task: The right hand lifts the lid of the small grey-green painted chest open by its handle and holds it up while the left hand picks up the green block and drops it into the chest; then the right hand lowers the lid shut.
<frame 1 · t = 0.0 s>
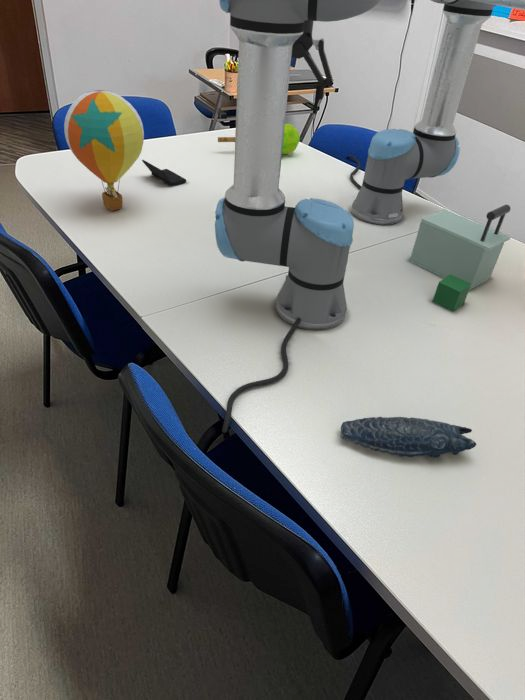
left hand: (288, 109, 135), 28 cm above the table, tool pointing down, fingers open, 13 cm apart
chest: (449, 269, 132), on the table
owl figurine: (402, 444, 84), on the table
toy: (113, 208, 145), on the table
block: (448, 302, 120), on the table
pill bottle: (241, 243, 135), on the table
decorative tree: (258, 154, 190), on the table
lid: (469, 214, 122), point 15 cm above the table, hinge at -0.1°
handheld gaming console: (164, 180, 164), on the table
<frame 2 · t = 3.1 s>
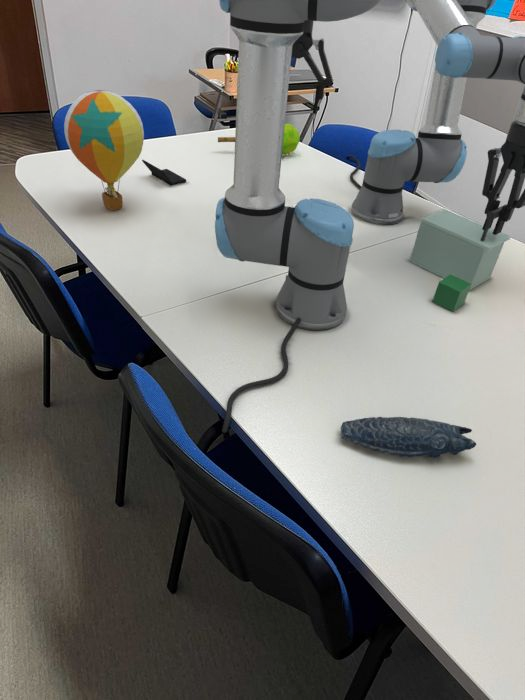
left hand: (288, 109, 135), 28 cm above the table, tool pointing down, fingers open, 13 cm apart
right hand: (491, 230, 120), 14 cm above the table, tool pointing down, fingers closed on lid, 2 cm apart
lid: (469, 214, 122), point 15 cm above the table, hinge at -0.1°, touching right hand
everything else where it was.
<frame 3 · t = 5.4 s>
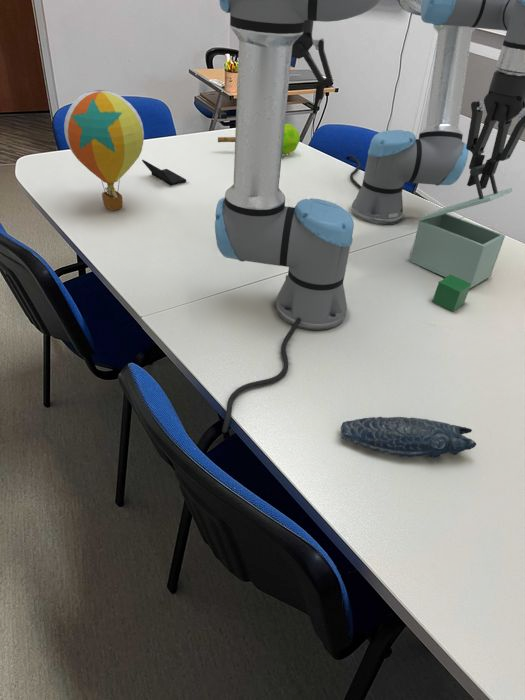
left hand: (288, 109, 135), 28 cm above the table, tool pointing down, fingers open, 13 cm apart
right hand: (476, 186, 119), 22 cm above the table, tool pointing down, fingers closed on lid, 2 cm apart
lid: (460, 190, 122), point 20 cm above the table, hinge at 32.9°, touching right hand
everything else where it was.
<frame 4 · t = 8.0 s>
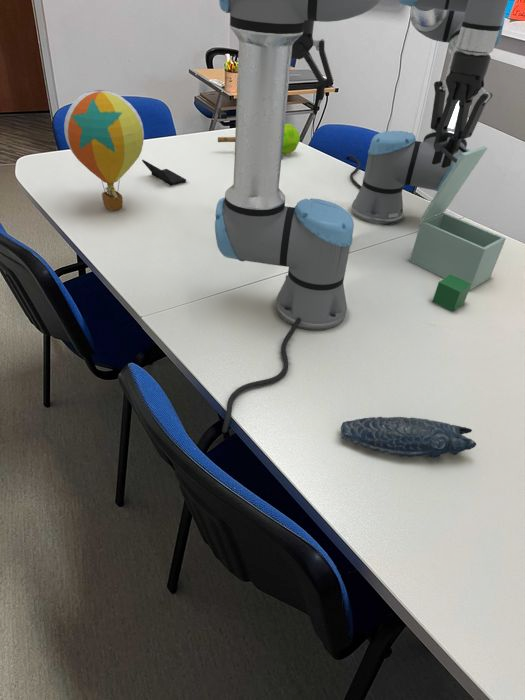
left hand: (289, 110, 135), 28 cm above the table, tool pointing down, fingers open, 13 cm apart
right hand: (441, 164, 123), 24 cm above the table, tool pointing down, fingers closed on lid, 2 cm apart
lid: (441, 175, 124), point 21 cm above the table, hinge at 72.6°, touching right hand
everything else where it was.
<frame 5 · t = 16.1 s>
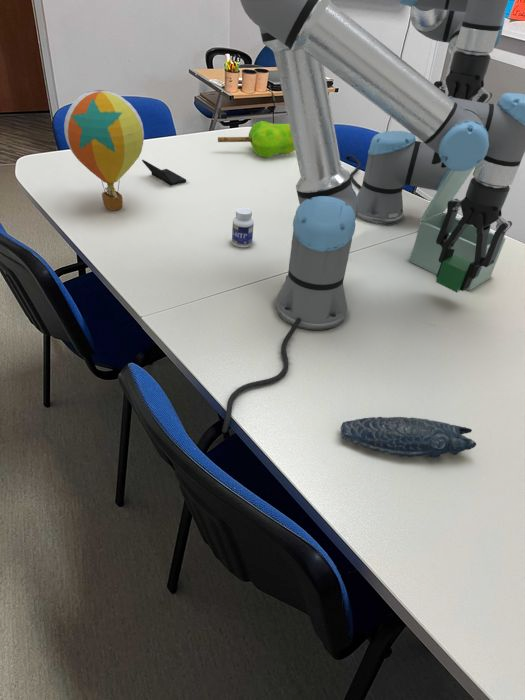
left hand: (452, 282, 116), 5 cm above the table, tool pointing down, fingers closed on block, 5 cm apart
right hand: (440, 164, 123), 24 cm above the table, tool pointing down, fingers closed on lid, 2 cm apart
block: (451, 283, 116), point 5 cm above the table, touching left hand
lid: (441, 175, 124), point 21 cm above the table, hinge at 72.7°, touching right hand
everything else where it was.
when the left hand's fingers open (18 cm above the table, at t = 18.8 s): block drops 16 cm, resting on chest.
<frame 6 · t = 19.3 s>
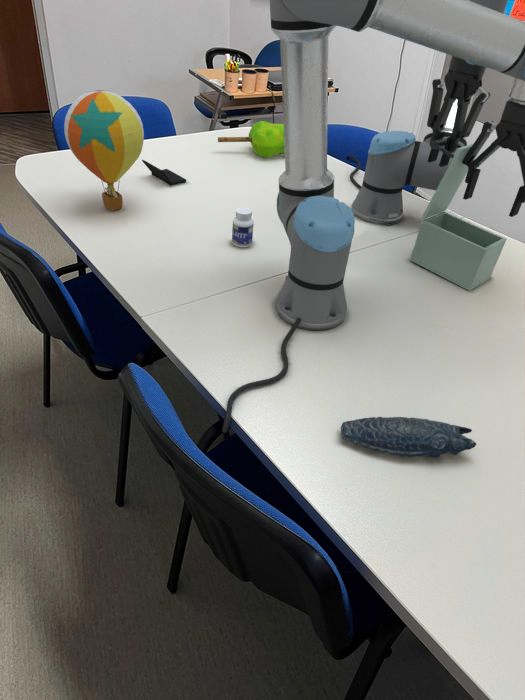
left hand: (489, 206, 118), 19 cm above the table, tool pointing down, fingers open, 11 cm apart
right hand: (437, 163, 123), 24 cm above the table, tool pointing down, fingers open, 2 cm apart
chest: (449, 269, 132), on the table, touching block
block: (462, 272, 129), point 1 cm above the table, touching chest
lid: (440, 173, 124), point 22 cm above the table, hinge at 78.9°, touching left hand, right hand
everything else where it was.
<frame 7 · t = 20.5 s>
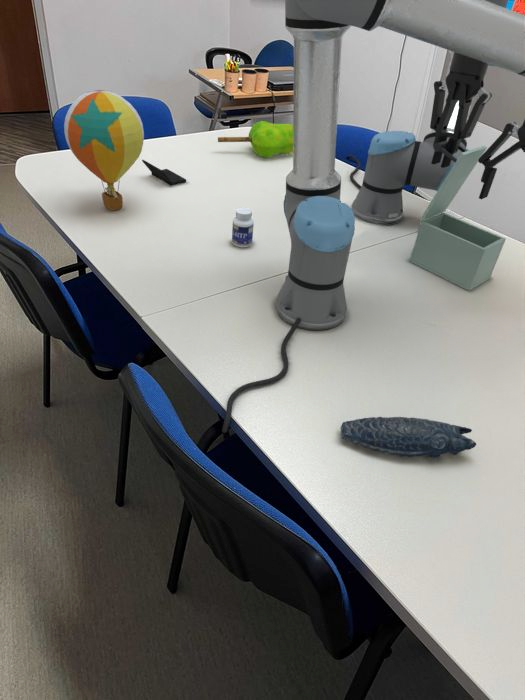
left hand: (510, 208, 115), 20 cm above the table, tool pointing down, fingers open, 13 cm apart
right hand: (440, 164, 123), 24 cm above the table, tool pointing down, fingers closed on lid, 2 cm apart
lid: (441, 175, 124), point 21 cm above the table, hinge at 73.3°, touching right hand
everything else where it was.
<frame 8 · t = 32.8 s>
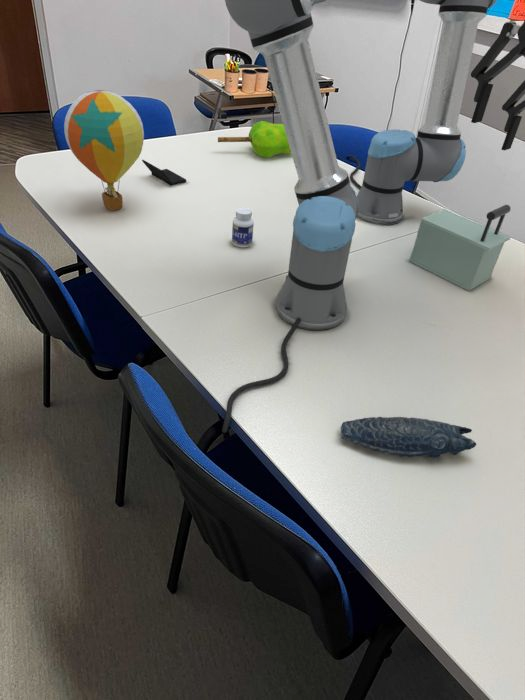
left hand: (509, 131, 96), 38 cm above the table, tool pointing down, fingers open, 13 cm apart
lid: (469, 214, 122), point 15 cm above the table, hinge at -0.1°
everything else where it was.
at the end: block inside the target area in the chest (3.5 cm from its centre), point 0.8 cm above the chest's base; lid at +0° (first picture: +0°); the left hand is holding nothing; the right hand is holding nothing; chest tilted 0°; chest moved 0.1 cm from its start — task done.
